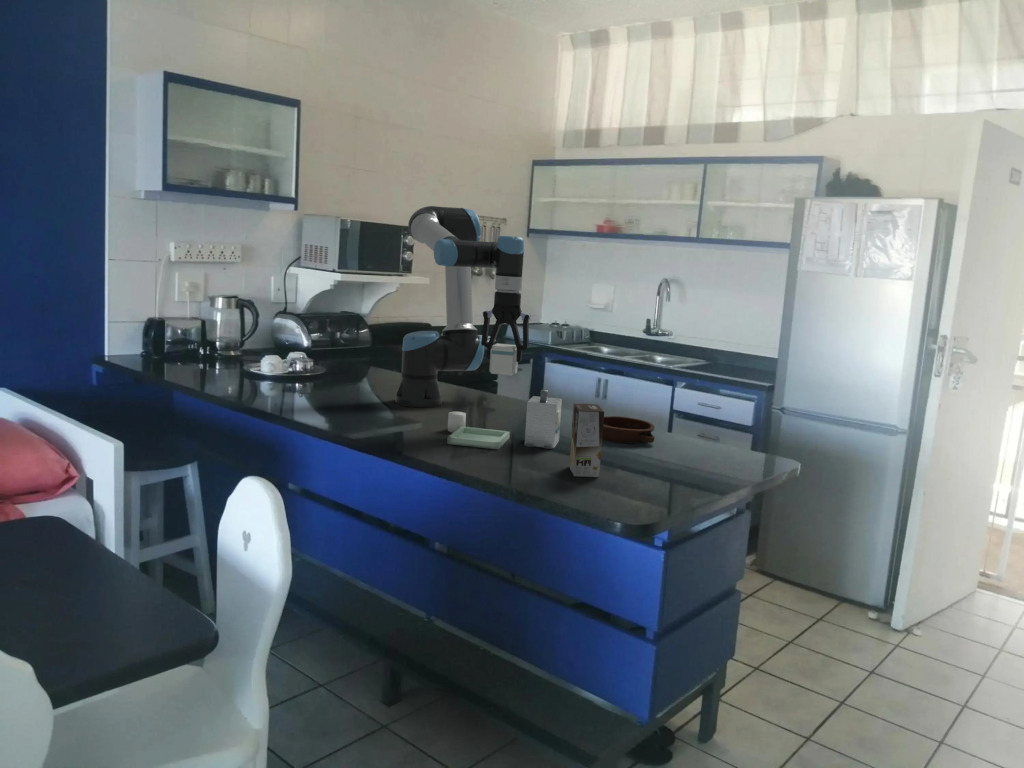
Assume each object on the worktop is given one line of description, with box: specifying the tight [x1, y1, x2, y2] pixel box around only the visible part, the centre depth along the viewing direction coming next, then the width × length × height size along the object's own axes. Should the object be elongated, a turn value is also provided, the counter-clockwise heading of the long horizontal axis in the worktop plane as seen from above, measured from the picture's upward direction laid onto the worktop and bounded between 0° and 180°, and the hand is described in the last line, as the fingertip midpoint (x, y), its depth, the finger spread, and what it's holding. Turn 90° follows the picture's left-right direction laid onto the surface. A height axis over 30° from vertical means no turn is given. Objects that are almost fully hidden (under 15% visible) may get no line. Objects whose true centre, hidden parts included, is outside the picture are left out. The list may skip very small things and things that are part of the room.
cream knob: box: [447, 411, 467, 433], centre depth 235 cm, size 5×5×5 cm
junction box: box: [524, 389, 563, 450], centre depth 226 cm, size 8×11×15 cm
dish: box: [602, 415, 656, 444], centre depth 238 cm, size 18×22×5 cm
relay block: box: [490, 343, 517, 376], centre depth 238 cm, size 6×6×8 cm
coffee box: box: [568, 403, 605, 478], centre depth 199 cm, size 9×6×16 cm
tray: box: [446, 426, 511, 450], centre depth 225 cm, size 14×14×2 cm
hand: (503, 371), depth 238 cm, fingers closed on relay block, 6 cm apart
